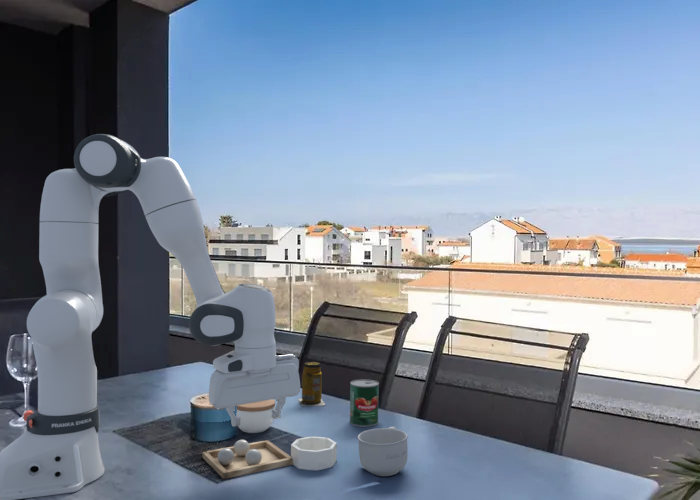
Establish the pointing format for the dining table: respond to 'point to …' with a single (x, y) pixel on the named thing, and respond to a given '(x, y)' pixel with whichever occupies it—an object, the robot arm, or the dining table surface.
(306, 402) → the condiment
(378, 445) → the teacup
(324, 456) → the bowl
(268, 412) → the lidded jar
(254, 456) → the light grey sphere
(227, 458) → the pebble
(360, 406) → the canned tomato
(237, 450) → the pebble
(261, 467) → the tray
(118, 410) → the dining table surface
